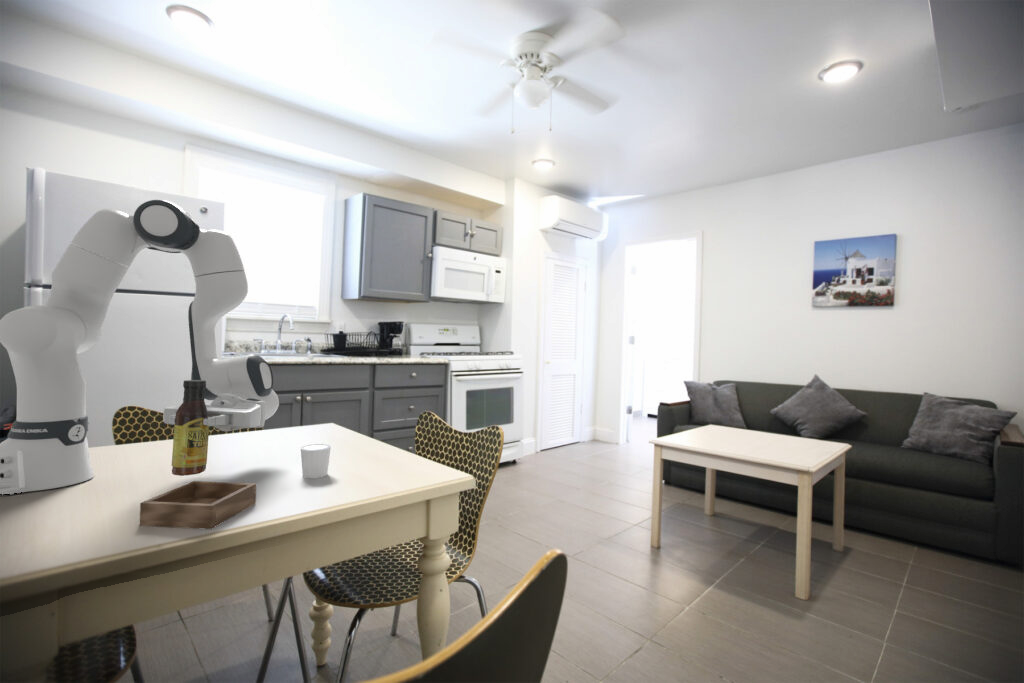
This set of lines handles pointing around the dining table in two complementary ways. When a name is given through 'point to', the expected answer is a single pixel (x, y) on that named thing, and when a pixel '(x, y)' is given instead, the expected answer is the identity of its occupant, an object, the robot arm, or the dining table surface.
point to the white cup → (315, 460)
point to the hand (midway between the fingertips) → (188, 421)
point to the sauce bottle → (191, 431)
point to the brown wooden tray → (197, 505)
